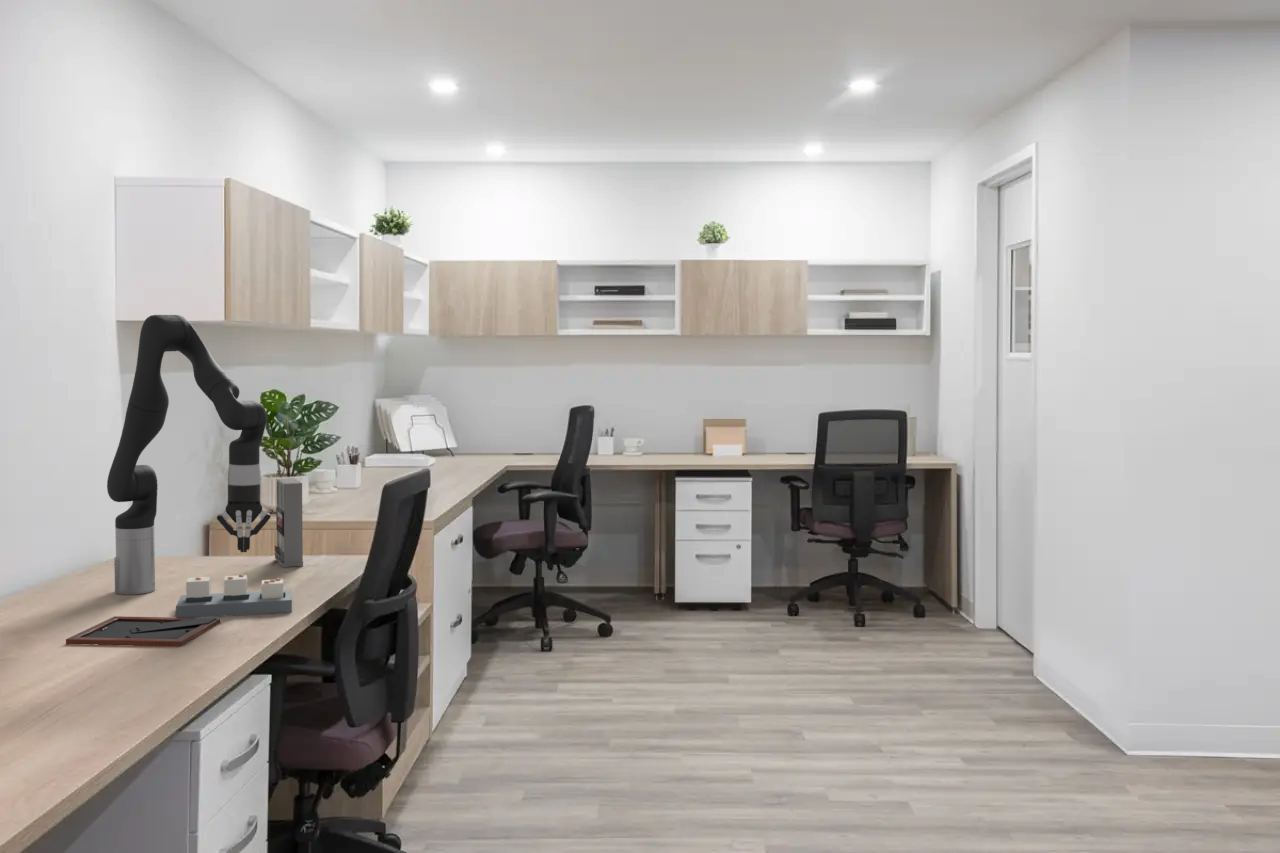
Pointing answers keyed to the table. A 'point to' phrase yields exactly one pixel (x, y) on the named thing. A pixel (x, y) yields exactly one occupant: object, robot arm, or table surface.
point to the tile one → (198, 587)
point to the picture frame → (145, 631)
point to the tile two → (235, 585)
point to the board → (232, 605)
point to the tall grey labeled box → (289, 523)
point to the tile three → (272, 588)
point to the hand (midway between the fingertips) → (243, 551)
